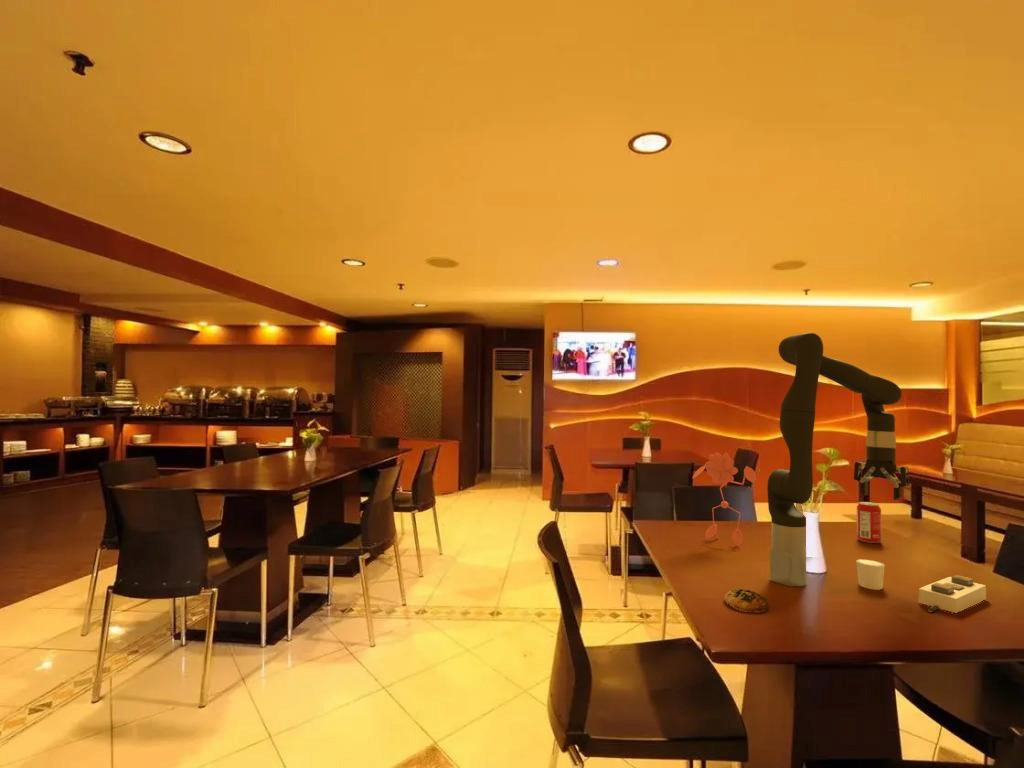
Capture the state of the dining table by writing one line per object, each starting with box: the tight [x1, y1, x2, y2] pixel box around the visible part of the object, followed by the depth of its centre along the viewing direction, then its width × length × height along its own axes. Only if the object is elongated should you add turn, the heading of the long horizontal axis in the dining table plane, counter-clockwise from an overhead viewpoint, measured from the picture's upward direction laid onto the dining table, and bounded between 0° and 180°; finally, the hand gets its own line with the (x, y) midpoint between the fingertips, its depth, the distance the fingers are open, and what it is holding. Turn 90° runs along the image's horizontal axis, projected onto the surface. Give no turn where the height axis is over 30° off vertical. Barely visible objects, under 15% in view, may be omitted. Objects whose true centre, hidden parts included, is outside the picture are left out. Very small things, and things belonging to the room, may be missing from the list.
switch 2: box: [951, 574, 974, 587], centre depth 141 cm, size 4×4×2 cm
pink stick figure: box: [691, 451, 757, 547], centre depth 191 cm, size 15×26×35 cm, turn 40°
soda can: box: [856, 501, 882, 544], centre depth 199 cm, size 8×8×15 cm
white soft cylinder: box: [855, 558, 886, 591], centre depth 149 cm, size 7×7×7 cm
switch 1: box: [931, 583, 954, 595], centre depth 135 cm, size 4×4×2 cm
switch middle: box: [944, 583, 964, 591], centre depth 138 cm, size 4×4×2 cm
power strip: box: [918, 576, 987, 613], centre depth 137 cm, size 24×8×4 cm, turn 120°
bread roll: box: [724, 588, 770, 614], centre depth 133 cm, size 11×11×5 cm
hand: (880, 497), depth 158 cm, fingers open, 8 cm apart
